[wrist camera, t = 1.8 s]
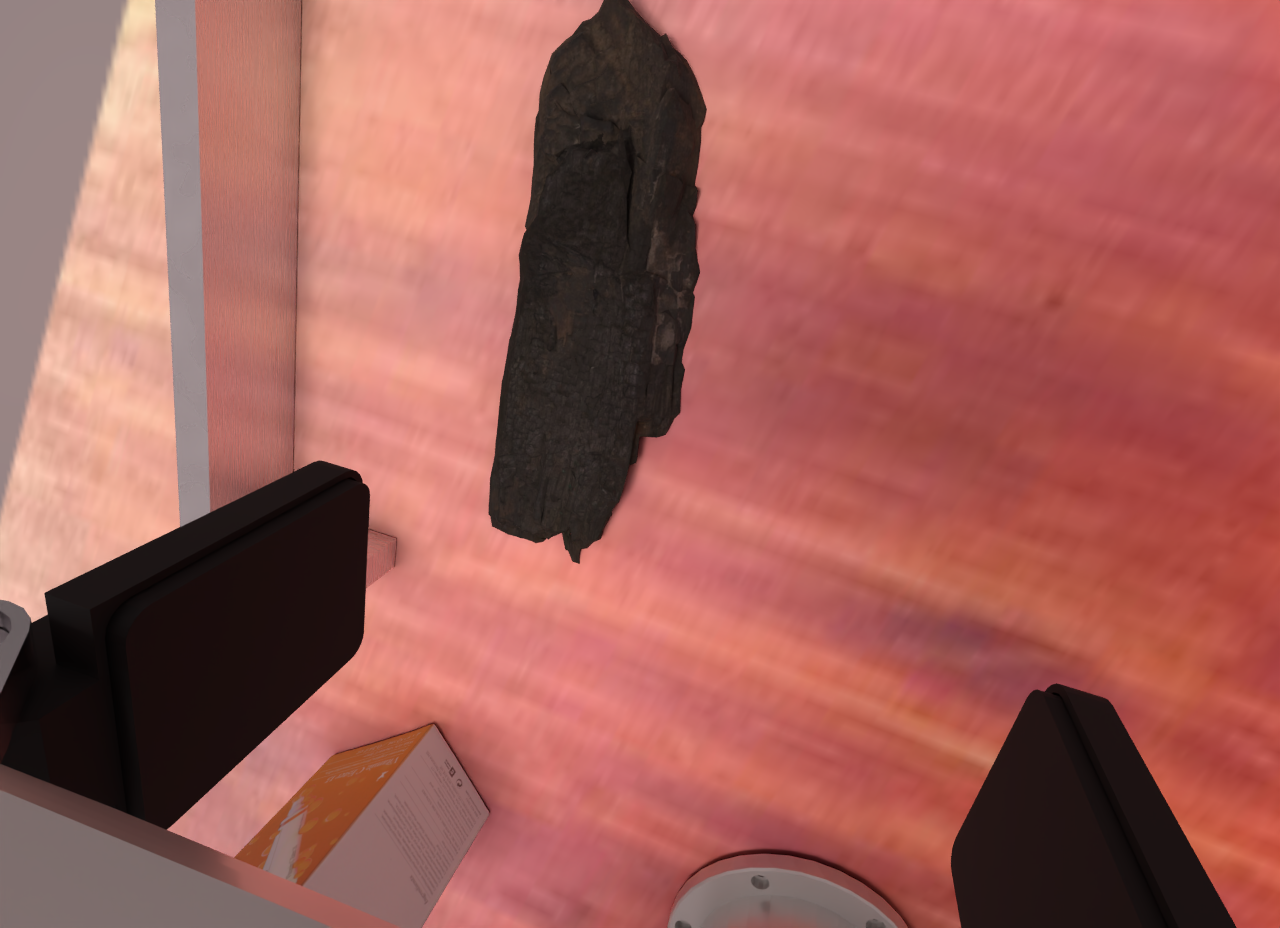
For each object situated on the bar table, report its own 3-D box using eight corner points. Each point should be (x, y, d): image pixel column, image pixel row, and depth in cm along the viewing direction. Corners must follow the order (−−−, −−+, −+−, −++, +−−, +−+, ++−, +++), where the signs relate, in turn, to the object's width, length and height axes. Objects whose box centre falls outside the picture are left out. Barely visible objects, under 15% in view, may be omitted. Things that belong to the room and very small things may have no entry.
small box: (436, 719, 37) (248, 950, 25) (493, 813, 39) (340, 1077, 27) (329, 752, 40) (117, 973, 28) (386, 839, 41) (204, 1087, 30)
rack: (449, -125, 25) (339, -225, 19) (394, 566, 35) (311, 630, 29) (266, -151, 26) (113, -252, 20) (264, 523, 36) (162, 576, 31)
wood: (641, 578, 32) (623, 611, 29) (493, 530, 33) (462, 558, 30) (776, 28, 24) (769, 2, 21) (574, -9, 25) (543, -39, 22)
